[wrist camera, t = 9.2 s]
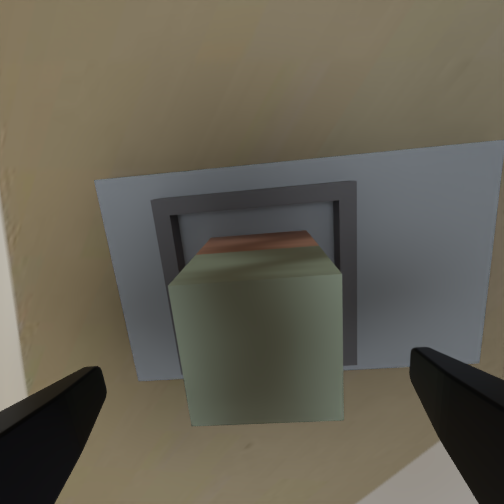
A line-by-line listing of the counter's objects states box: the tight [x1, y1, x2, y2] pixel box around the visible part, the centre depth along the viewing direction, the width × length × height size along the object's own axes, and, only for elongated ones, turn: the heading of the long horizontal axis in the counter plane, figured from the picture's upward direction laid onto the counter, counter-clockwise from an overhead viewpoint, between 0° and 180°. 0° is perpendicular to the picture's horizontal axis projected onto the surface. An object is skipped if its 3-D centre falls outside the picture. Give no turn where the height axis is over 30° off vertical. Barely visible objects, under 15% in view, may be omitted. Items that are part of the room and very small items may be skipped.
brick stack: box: [168, 230, 344, 426], centre depth 12 cm, size 5×5×7 cm
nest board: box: [94, 140, 504, 381], centre depth 15 cm, size 20×12×2 cm, turn 95°
